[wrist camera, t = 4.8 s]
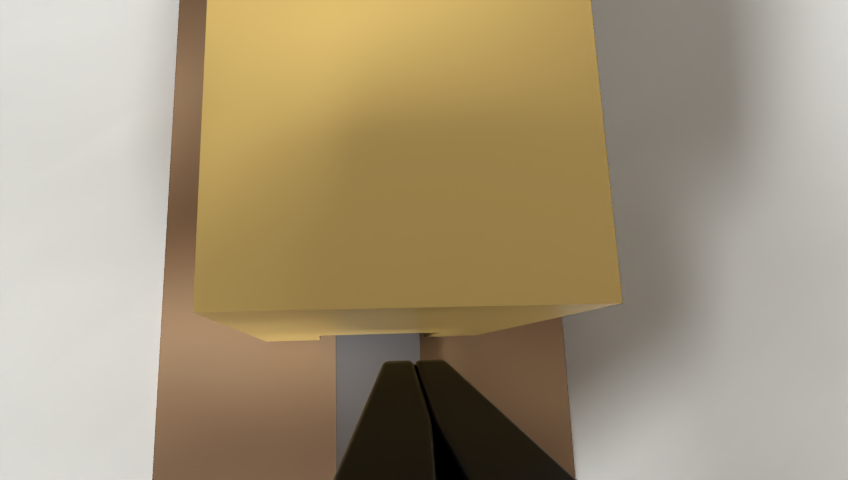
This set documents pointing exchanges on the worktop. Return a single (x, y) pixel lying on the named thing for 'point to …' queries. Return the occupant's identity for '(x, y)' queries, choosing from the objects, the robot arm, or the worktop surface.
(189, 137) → the wooden board with blocks
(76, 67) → the worktop surface
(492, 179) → the yellow rectangular block
